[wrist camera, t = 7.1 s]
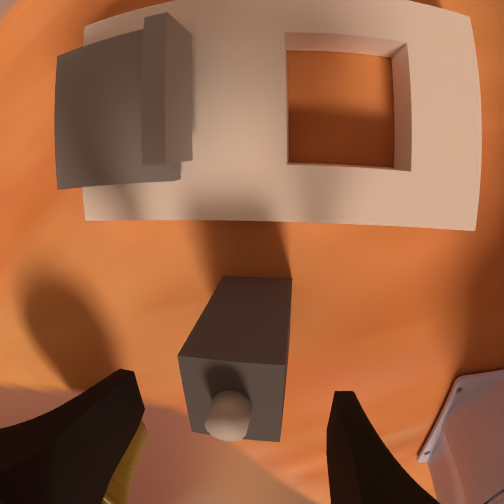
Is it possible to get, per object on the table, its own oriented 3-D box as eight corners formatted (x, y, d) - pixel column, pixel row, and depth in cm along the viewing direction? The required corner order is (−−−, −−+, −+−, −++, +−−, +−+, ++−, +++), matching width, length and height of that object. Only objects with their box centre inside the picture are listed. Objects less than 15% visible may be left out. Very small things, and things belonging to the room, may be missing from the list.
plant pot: (98, 444, 24) (59, 506, 16) (52, 370, 22) (-7, 432, 14) (181, 457, 23) (150, 538, 14) (138, 377, 20) (78, 468, 12)
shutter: (199, 178, 12) (167, 189, 9) (68, 187, 13) (20, 199, 10) (199, 25, 10) (168, -7, 7) (67, 58, 11) (21, 47, 8)
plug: (289, 344, 17) (277, 465, 10) (227, 340, 18) (183, 453, 10) (292, 279, 16) (282, 390, 8) (223, 276, 17) (164, 377, 9)
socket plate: (452, 218, 14) (474, 231, 11) (111, 210, 16) (85, 220, 14) (448, 31, 11) (469, 16, 8) (109, 37, 13) (84, 26, 11)
